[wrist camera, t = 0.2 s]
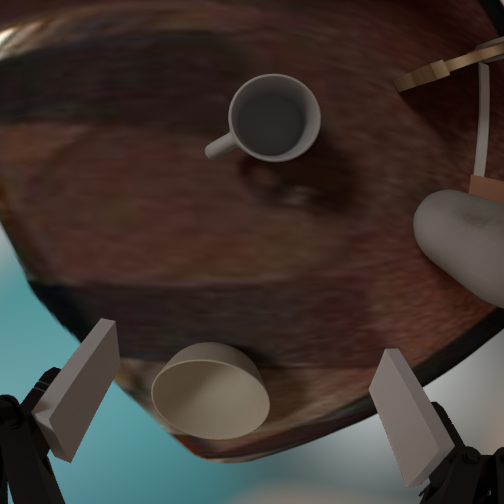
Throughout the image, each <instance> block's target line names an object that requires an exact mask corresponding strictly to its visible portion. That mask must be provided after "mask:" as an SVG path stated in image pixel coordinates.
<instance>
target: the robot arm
mask: <svg viewBox="0 0 504 504" xmlns="http://www.w3.org/2000/svg"><path fill="white" fill-rule="evenodd" d="M120 366H121V363H120V356H119V349H118V341H117V333H116V324H115V321H111V320H106V319H102V318H101V319H100V321H99V322H98V323H97V324H96V326H95V327H94V328H93V329H92V331H91V332H90V333H89V334H88V336H87V337H86V338H85V340H84V341H83V342H82V343H81V345H80V346H79V348H78V349H77V350H76V351H75V353H74V354H73V355H72V357H71V358H70V359H69V360H68V362H67V363H66V365H65V366H64V367H63V368H62V369H59V368H56V367H53V368H51V369H49V370H48V371H46V372H45V373H44V374H43V375H42V377H41V378H40V379H39V382H37V383H36V384H35V386H34V388H32V390H31V391H30V392H29V394H28V395H27V396H26V398H25V399H24V400H23V402H22V403H21V404H19V402H18V400H17V399H16V398H15V397H14V396H11V395H0V504H8V488H7V487H8V486H7V485H8V484H9V488H10V492H11V496H12V499H13V503H14V504H65V501H64V499H63V497H62V494H61V492H60V489H59V486H58V484H57V481H56V478H55V476H54V473H53V470H52V467H51V464H50V461H49V458H48V457H47V454H48V452H49V450H50V449H51V451H52V453H53V454H54V456H55V457H57V458H59V459H62V460H64V461H67V462H69V463H71V461H72V459H73V457H74V455H75V453H76V451H77V449H78V447H79V445H80V443H81V441H82V439H83V437H84V434H85V433H86V431H87V429H88V427H89V425H90V423H91V421H92V419H93V417H94V415H95V413H96V411H97V409H98V407H99V405H100V403H101V402H102V400H103V398H104V396H105V394H106V392H107V390H108V388H109V386H110V385H111V383H112V381H113V379H114V377H115V375H116V373H117V372H118V370H119V368H120ZM369 392H370V394H371V396H372V399H373V401H374V404H375V406H376V409H377V411H378V414H379V416H380V419H381V421H382V424H383V426H384V429H385V431H386V434H387V437H388V439H389V442H390V444H391V447H392V450H393V452H394V455H395V457H396V460H397V463H398V465H399V469H400V471H401V474H402V477H403V480H404V482H405V485H406V488H409V487H413V486H418V485H421V484H422V483H423V482H424V481H425V480H426V479H427V478H428V477H429V480H430V482H431V483H430V484H429V485H428V486H427V487H426V488H425V489H424V490H423V491H422V492H421V493H420V494H419V496H421V495H422V494H423V493H424V495H423V498H422V500H421V502H420V504H504V447H501V448H499V449H498V450H497V451H496V452H495V453H494V454H493V455H481V454H480V453H479V452H478V450H476V449H474V448H473V447H469V446H467V447H466V446H465V445H464V443H463V441H462V439H461V437H460V436H459V434H458V432H457V430H456V429H455V427H454V425H453V424H452V422H451V420H450V418H448V415H447V413H446V411H445V410H444V408H443V407H442V406H440V405H439V404H438V403H437V402H430V400H429V399H428V397H427V395H426V394H425V392H424V391H423V388H422V387H421V385H420V383H419V382H418V380H417V378H416V377H415V375H414V373H413V372H412V370H411V369H410V367H409V365H408V364H407V362H406V360H405V359H404V357H403V356H402V354H401V352H400V351H399V349H385V351H384V354H383V356H382V359H381V361H380V364H379V366H378V369H377V371H376V373H375V376H374V378H373V380H372V383H371V385H370V387H369ZM490 493H491V495H490Z"/></svg>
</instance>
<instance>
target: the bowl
mask: <svg viewBox="0 0 504 504" xmlns="http://www.w3.org/2000/svg"><path fill="white" fill-rule="evenodd" d="M152 400H153V403H154V405H155V407H156V409H157V411H158V412H159V413H160V415H161V416H162V417H163V418H164V419H165V420H166V421H167V422H169V423H170V424H171V425H173V426H174V427H176V428H177V429H179V430H181V431H183V432H185V433H188V434H190V435H193V436H197V437H201V438H206V439H231V438H236V437H240V436H243V435H246V434H248V433H250V432H252V431H254V430H255V429H257V428H258V427H259V426H260V425H261V424H262V423H263V422H264V421H265V419H266V418H267V416H268V413H269V410H270V399H269V395H268V392H267V390H266V387H265V384H264V382H263V379H262V377H261V375H260V373H259V371H258V369H257V367H256V366H255V364H254V363H253V362H252V360H251V359H250V358H249V357H248V356H246V355H245V354H244V353H243V352H241V351H240V350H238V349H236V348H234V347H232V346H229V345H226V344H222V343H216V342H204V343H198V344H194V345H191V346H189V347H187V348H185V349H183V350H181V351H180V352H178V353H177V354H176V355H175V356H174V357H173V358H172V359H171V360H170V361H169V362H168V363H167V364H166V366H165V367H164V368H163V369H162V370H161V372H160V373H159V374H158V375H157V377H156V378H155V380H154V382H153V385H152Z"/></svg>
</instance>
